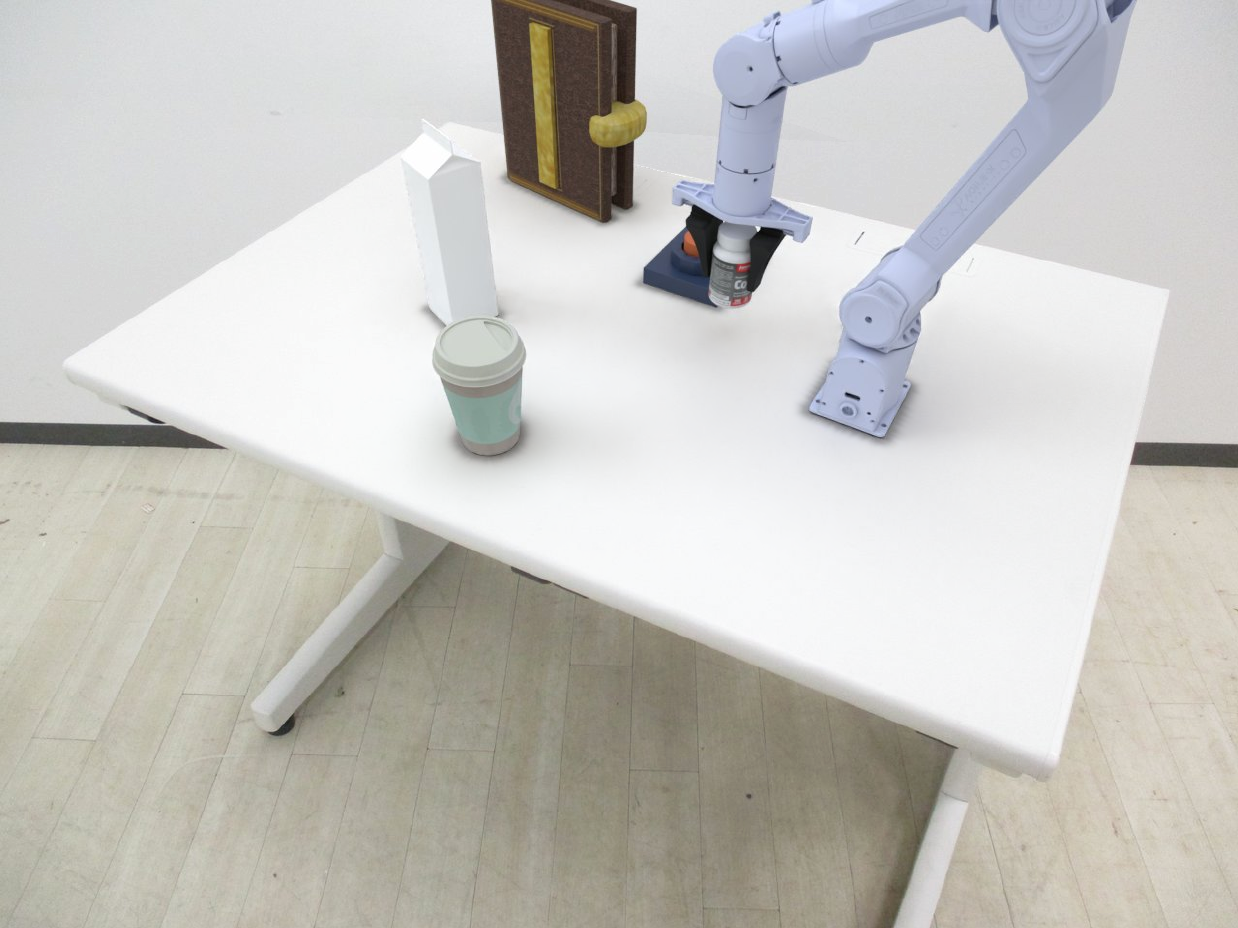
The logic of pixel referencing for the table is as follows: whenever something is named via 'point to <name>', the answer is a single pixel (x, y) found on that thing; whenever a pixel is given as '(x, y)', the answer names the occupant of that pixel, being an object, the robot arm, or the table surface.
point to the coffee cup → (482, 380)
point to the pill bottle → (731, 266)
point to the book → (570, 100)
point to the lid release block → (678, 272)
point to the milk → (450, 226)
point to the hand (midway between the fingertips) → (731, 280)
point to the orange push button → (690, 245)
